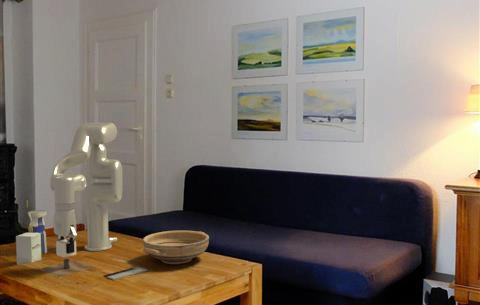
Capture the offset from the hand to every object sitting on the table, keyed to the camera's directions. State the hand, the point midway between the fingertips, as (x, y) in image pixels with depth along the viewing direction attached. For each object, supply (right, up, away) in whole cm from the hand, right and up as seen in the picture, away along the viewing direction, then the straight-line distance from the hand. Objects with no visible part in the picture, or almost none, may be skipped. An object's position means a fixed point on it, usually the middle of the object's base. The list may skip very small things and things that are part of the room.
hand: (66, 251), depth 205 cm
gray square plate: (+21, -8, 0) cm, 23 cm away
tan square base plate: (0, -8, 0) cm, 8 cm away
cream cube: (0, -2, 0) cm, 1 cm away
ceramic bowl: (+42, -7, +16) cm, 46 cm away
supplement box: (-21, -8, +13) cm, 26 cm away
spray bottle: (-24, -7, +31) cm, 40 cm away
